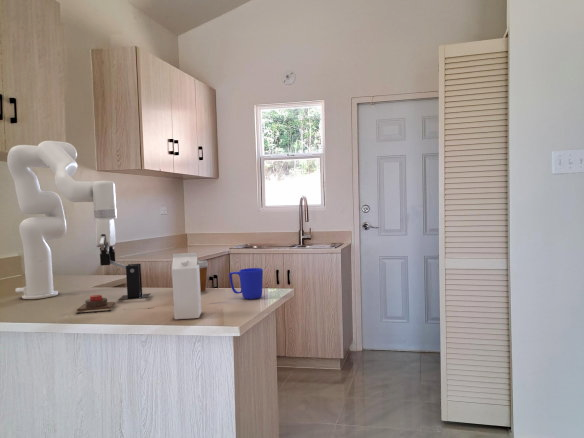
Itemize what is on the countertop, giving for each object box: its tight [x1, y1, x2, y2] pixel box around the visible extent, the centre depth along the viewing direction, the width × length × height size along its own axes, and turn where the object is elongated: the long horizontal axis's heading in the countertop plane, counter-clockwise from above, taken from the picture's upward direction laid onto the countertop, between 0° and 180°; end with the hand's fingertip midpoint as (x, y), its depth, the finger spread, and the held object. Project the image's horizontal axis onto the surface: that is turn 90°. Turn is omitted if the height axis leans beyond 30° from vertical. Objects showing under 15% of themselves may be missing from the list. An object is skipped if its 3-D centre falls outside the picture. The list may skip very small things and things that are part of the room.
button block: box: [76, 297, 116, 315], centre depth 155 cm, size 10×8×4 cm
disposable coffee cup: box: [198, 259, 209, 292], centre depth 178 cm, size 10×10×12 cm
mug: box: [228, 267, 264, 300], centre depth 164 cm, size 8×12×10 cm
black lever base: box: [118, 263, 151, 301], centre depth 170 cm, size 10×8×13 cm
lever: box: [110, 260, 127, 270], centre depth 169 cm, size 12×5×2 cm, turn 99°
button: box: [89, 294, 103, 301], centre depth 155 cm, size 4×4×2 cm
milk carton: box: [171, 252, 202, 320], centre depth 140 cm, size 7×7×19 cm
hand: (108, 263), depth 169 cm, fingers open, 7 cm apart
